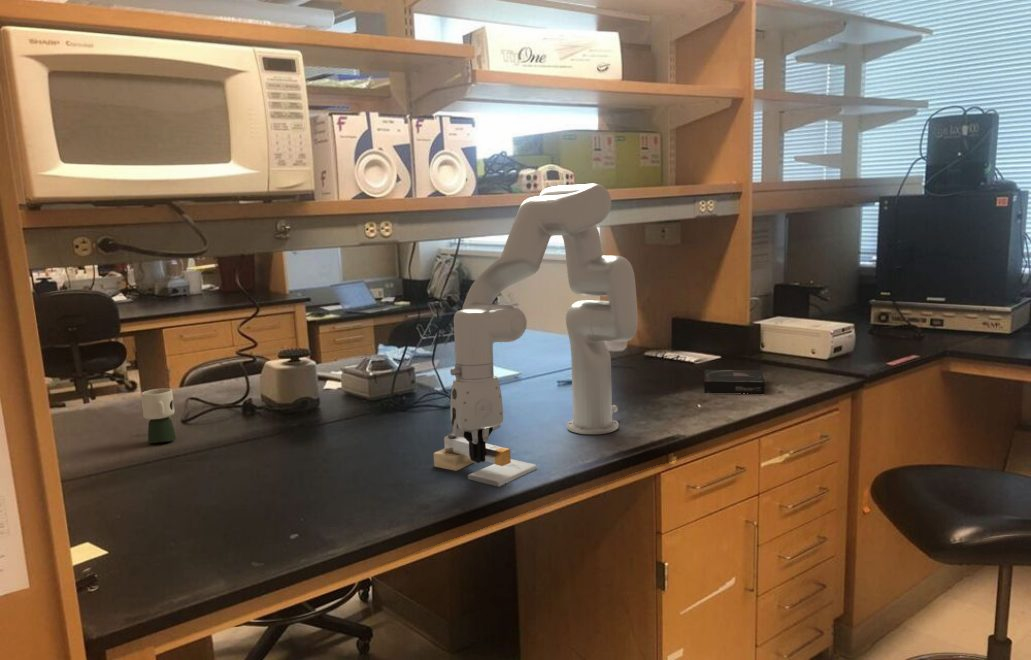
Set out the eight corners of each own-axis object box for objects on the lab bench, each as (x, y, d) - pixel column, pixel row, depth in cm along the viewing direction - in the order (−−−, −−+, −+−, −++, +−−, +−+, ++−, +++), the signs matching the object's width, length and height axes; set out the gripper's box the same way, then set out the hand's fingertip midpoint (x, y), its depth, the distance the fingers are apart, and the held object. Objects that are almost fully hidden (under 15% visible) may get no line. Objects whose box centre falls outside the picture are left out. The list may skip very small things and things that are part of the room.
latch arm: (441, 450, 164) (440, 435, 164) (453, 446, 167) (453, 431, 166) (500, 466, 152) (499, 450, 151) (512, 462, 155) (511, 445, 154)
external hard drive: (467, 481, 156) (506, 464, 165) (498, 489, 150) (537, 471, 160) (467, 474, 155) (506, 457, 165) (498, 481, 150) (536, 463, 160)
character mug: (181, 444, 189) (176, 392, 187) (150, 449, 185) (144, 397, 183) (173, 434, 198) (168, 385, 196) (143, 440, 194) (137, 390, 192)
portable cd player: (760, 382, 231) (760, 369, 230) (764, 396, 214) (764, 382, 214) (704, 382, 235) (704, 369, 234) (704, 395, 218) (704, 381, 218)
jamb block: (452, 458, 169) (451, 445, 168) (473, 462, 165) (472, 449, 165) (434, 466, 164) (433, 452, 164) (456, 470, 161) (455, 457, 160)
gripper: (451, 379, 144) (455, 472, 147) (516, 369, 153) (518, 457, 155) (432, 373, 151) (436, 463, 153) (495, 364, 159) (498, 449, 161)
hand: (477, 460), depth 154 cm, fingers closed
